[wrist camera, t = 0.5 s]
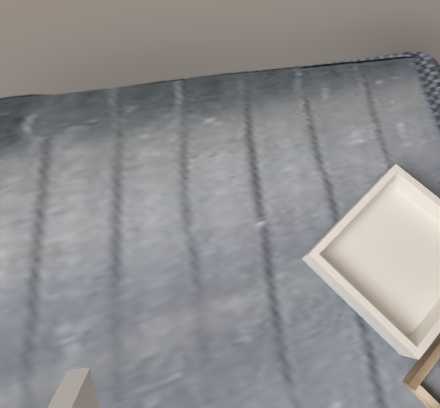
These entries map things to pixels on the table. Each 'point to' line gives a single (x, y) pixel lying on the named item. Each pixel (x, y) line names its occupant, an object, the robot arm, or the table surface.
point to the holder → (424, 373)
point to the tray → (388, 261)
